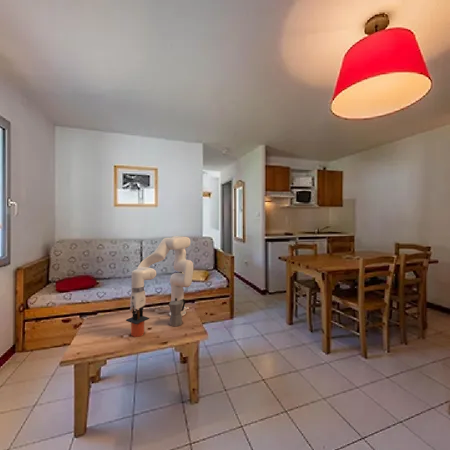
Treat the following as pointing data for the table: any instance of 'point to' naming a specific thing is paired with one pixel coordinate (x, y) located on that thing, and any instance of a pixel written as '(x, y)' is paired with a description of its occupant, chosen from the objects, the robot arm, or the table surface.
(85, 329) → the table surface
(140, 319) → the peg on square base
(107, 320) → the table surface
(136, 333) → the cup
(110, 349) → the table surface
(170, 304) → the coffeepot
